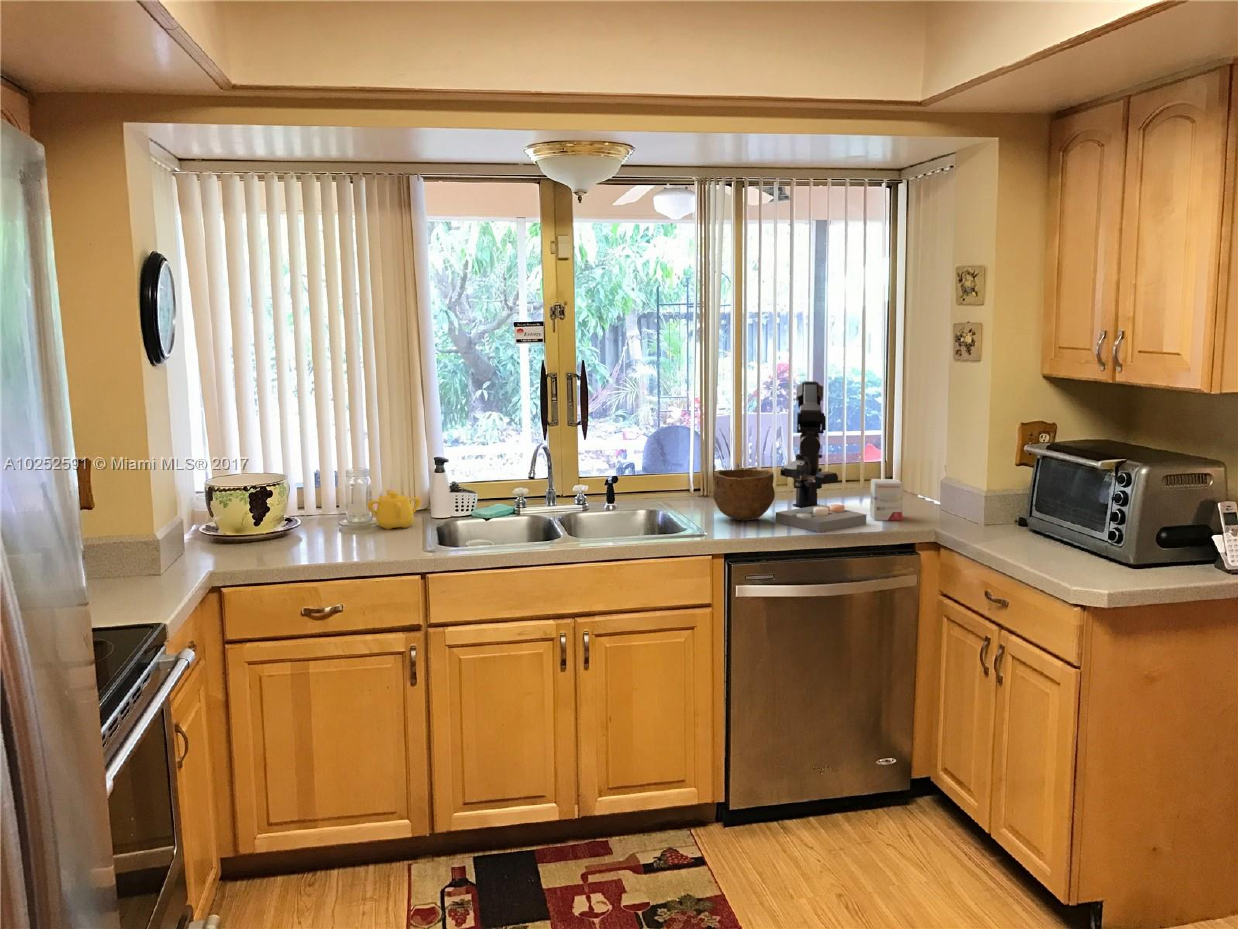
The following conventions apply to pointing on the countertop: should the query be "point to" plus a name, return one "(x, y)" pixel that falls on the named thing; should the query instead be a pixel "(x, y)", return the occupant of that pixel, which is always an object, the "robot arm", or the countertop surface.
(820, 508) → the cream button
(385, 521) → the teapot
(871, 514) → the ink box
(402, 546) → the countertop surface
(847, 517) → the panel
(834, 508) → the orange button
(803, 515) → the sage button
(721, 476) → the bowl
